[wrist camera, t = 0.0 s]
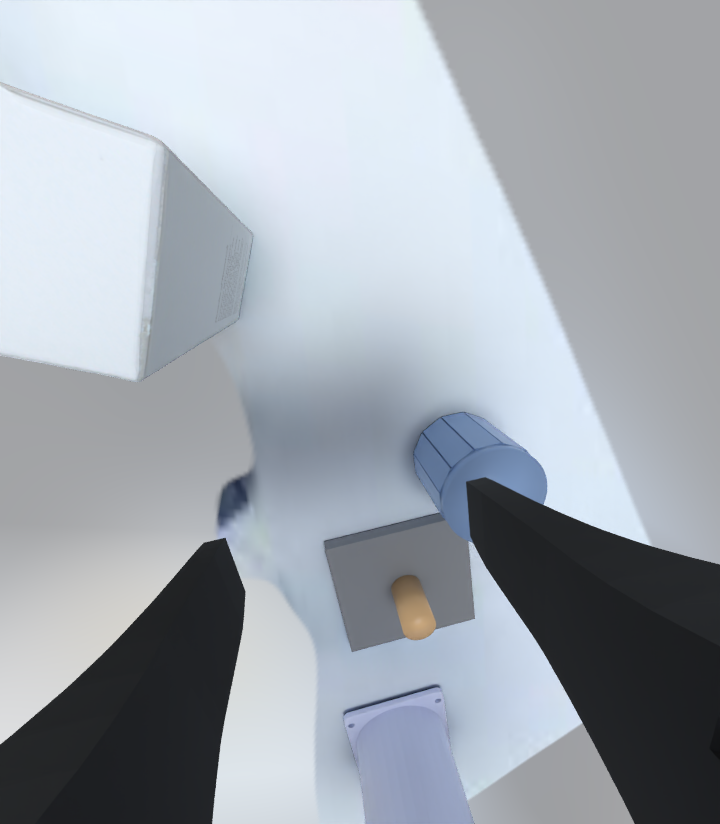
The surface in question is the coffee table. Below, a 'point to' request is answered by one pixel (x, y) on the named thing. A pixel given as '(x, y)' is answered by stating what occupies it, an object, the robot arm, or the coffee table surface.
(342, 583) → the plate
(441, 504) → the cap
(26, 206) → the skincare box
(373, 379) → the coffee table surface
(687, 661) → the robot arm
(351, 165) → the coffee table surface
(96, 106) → the coffee table surface
